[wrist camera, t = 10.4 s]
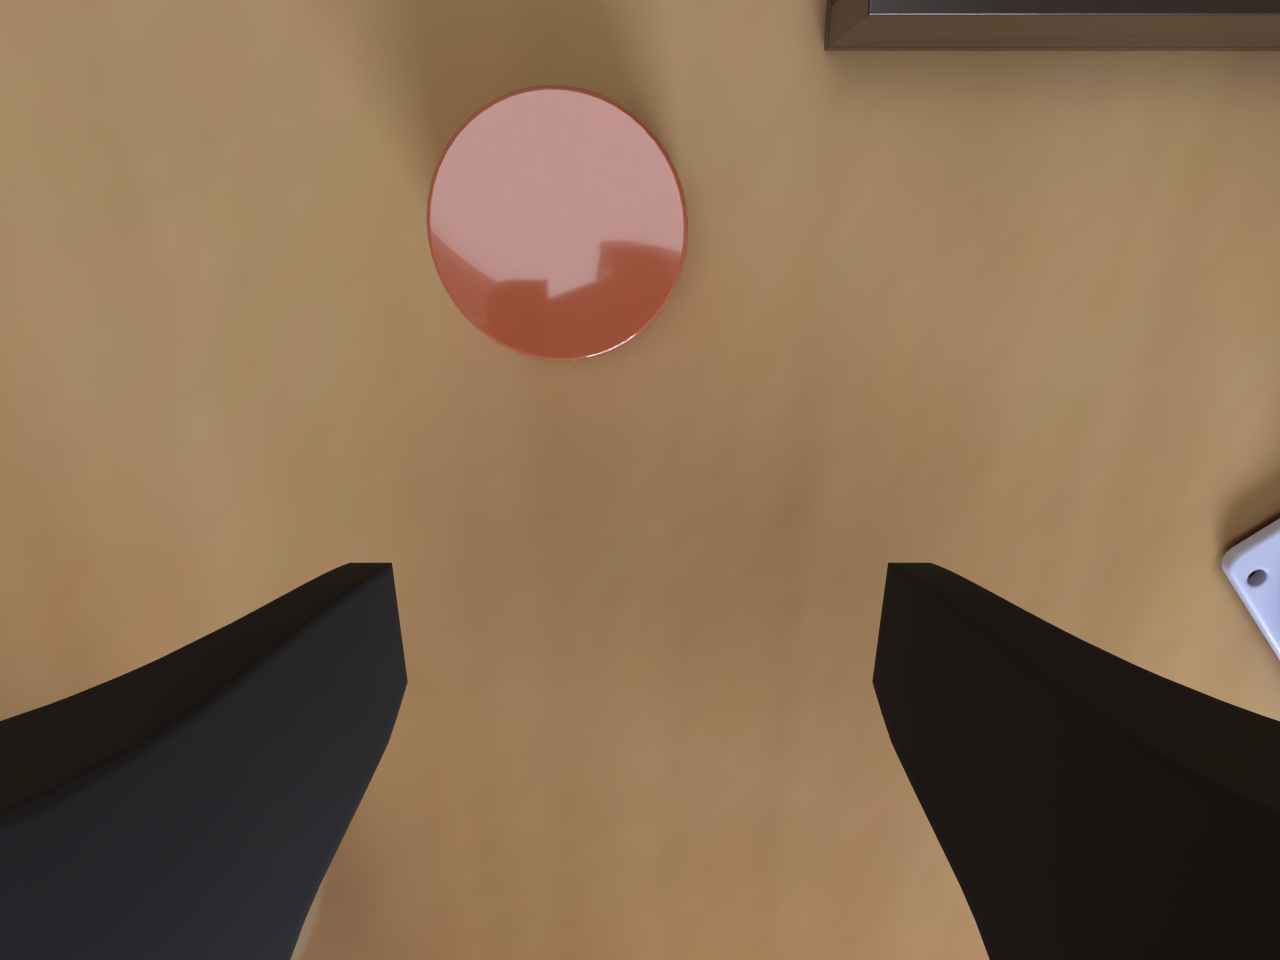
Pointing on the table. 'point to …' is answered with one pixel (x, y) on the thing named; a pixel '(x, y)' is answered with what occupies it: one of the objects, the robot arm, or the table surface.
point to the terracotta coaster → (557, 223)
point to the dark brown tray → (1053, 25)
